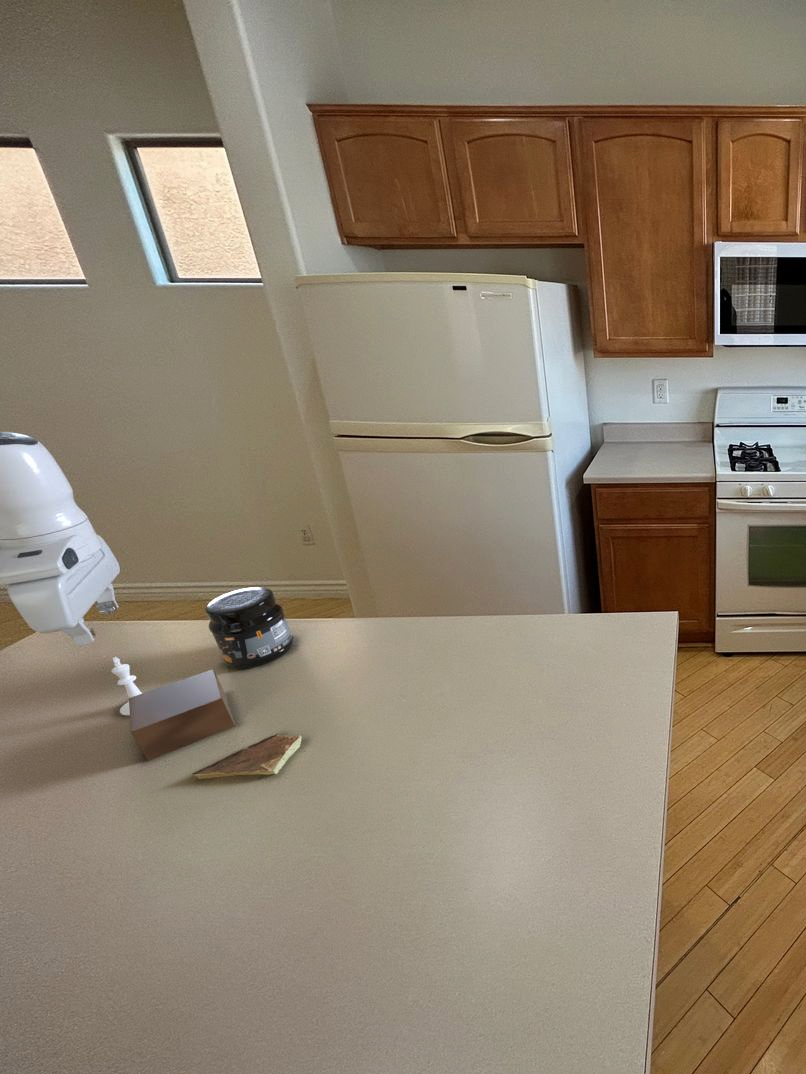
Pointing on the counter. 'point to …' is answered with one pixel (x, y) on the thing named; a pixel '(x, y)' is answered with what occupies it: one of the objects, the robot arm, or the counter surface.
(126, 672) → the chess piece
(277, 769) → the shard
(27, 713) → the counter surface
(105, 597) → the robot arm
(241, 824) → the counter surface
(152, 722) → the walnut block
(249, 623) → the supplement container
